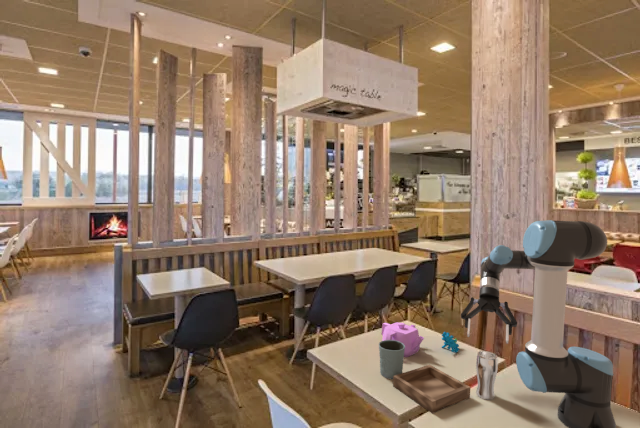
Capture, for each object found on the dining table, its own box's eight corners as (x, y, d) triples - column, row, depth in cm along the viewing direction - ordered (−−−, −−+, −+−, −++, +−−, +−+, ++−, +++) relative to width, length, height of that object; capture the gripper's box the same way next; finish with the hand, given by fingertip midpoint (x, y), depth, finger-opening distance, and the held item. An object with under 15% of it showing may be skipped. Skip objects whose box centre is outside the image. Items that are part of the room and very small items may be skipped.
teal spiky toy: (452, 352, 164) (440, 332, 170) (443, 359, 167) (431, 338, 173) (464, 349, 171) (452, 329, 177) (455, 355, 174) (443, 335, 180)
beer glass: (483, 401, 129) (485, 360, 128) (470, 391, 136) (472, 351, 135) (500, 399, 131) (502, 358, 130) (486, 388, 138) (488, 349, 137)
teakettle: (379, 341, 179) (380, 316, 178) (415, 342, 178) (416, 317, 178) (384, 357, 162) (385, 330, 161) (423, 359, 162) (425, 331, 161)
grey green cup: (407, 372, 149) (408, 343, 148) (398, 383, 140) (400, 352, 140) (383, 365, 154) (384, 337, 153) (374, 376, 146) (374, 346, 145)
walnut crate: (469, 397, 131) (470, 387, 131) (432, 413, 122) (432, 401, 121) (429, 374, 148) (429, 364, 147) (393, 386, 138) (393, 376, 138)
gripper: (522, 299, 152) (523, 349, 139) (457, 291, 162) (453, 336, 150) (524, 289, 147) (525, 340, 134) (457, 282, 157) (452, 328, 144)
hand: (487, 338), depth 142 cm, fingers open, 13 cm apart
